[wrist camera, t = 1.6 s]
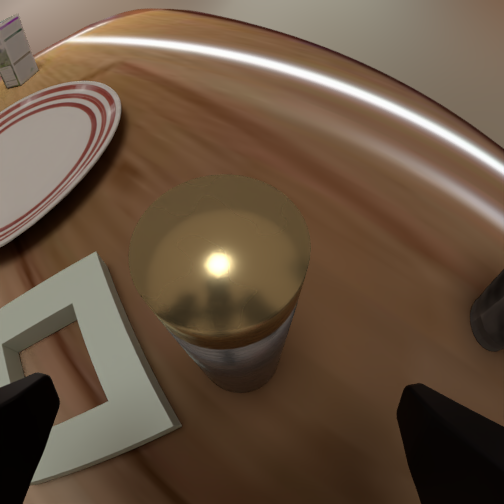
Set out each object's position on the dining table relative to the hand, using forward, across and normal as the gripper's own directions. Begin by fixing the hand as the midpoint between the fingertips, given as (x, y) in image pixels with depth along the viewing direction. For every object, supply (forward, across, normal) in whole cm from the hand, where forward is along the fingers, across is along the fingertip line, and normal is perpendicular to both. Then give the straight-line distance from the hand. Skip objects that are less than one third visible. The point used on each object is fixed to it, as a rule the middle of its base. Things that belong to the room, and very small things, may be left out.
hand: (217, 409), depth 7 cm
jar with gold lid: (+10, 0, +5) cm, 11 cm away
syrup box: (+44, +44, -27) cm, 68 cm away
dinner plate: (+24, +26, -7) cm, 36 cm away
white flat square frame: (+8, +12, +7) cm, 16 cm away
